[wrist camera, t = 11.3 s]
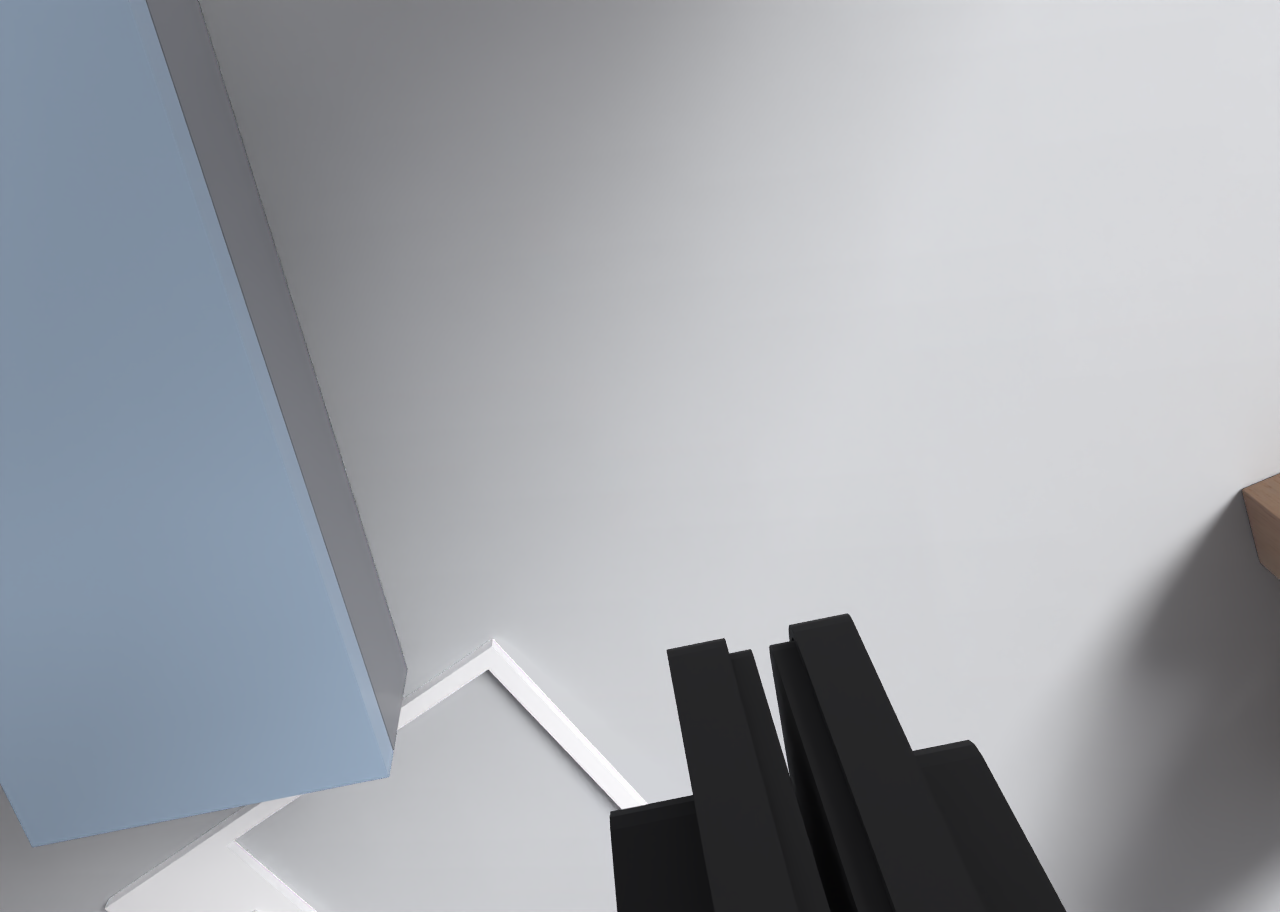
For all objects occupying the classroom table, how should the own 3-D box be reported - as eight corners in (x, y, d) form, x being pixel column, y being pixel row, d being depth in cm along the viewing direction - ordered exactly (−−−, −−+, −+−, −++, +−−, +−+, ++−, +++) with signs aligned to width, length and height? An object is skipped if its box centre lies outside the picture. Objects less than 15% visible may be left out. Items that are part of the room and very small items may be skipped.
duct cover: (-404, -69, 28) (-477, -69, 26) (102, -171, 28) (68, -179, 26) (29, 805, 39) (1, 853, 37) (396, 732, 39) (389, 777, 37)
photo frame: (102, 912, 44) (492, 649, 41) (112, 890, 45) (493, 631, 42) (369, 1121, 50) (731, 903, 46) (372, 1097, 51) (726, 881, 48)
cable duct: (-271, -77, 31) (-392, -77, 27) (147, -161, 31) (89, -174, 27) (95, 731, 42) (47, 819, 38) (407, 669, 42) (393, 750, 38)
